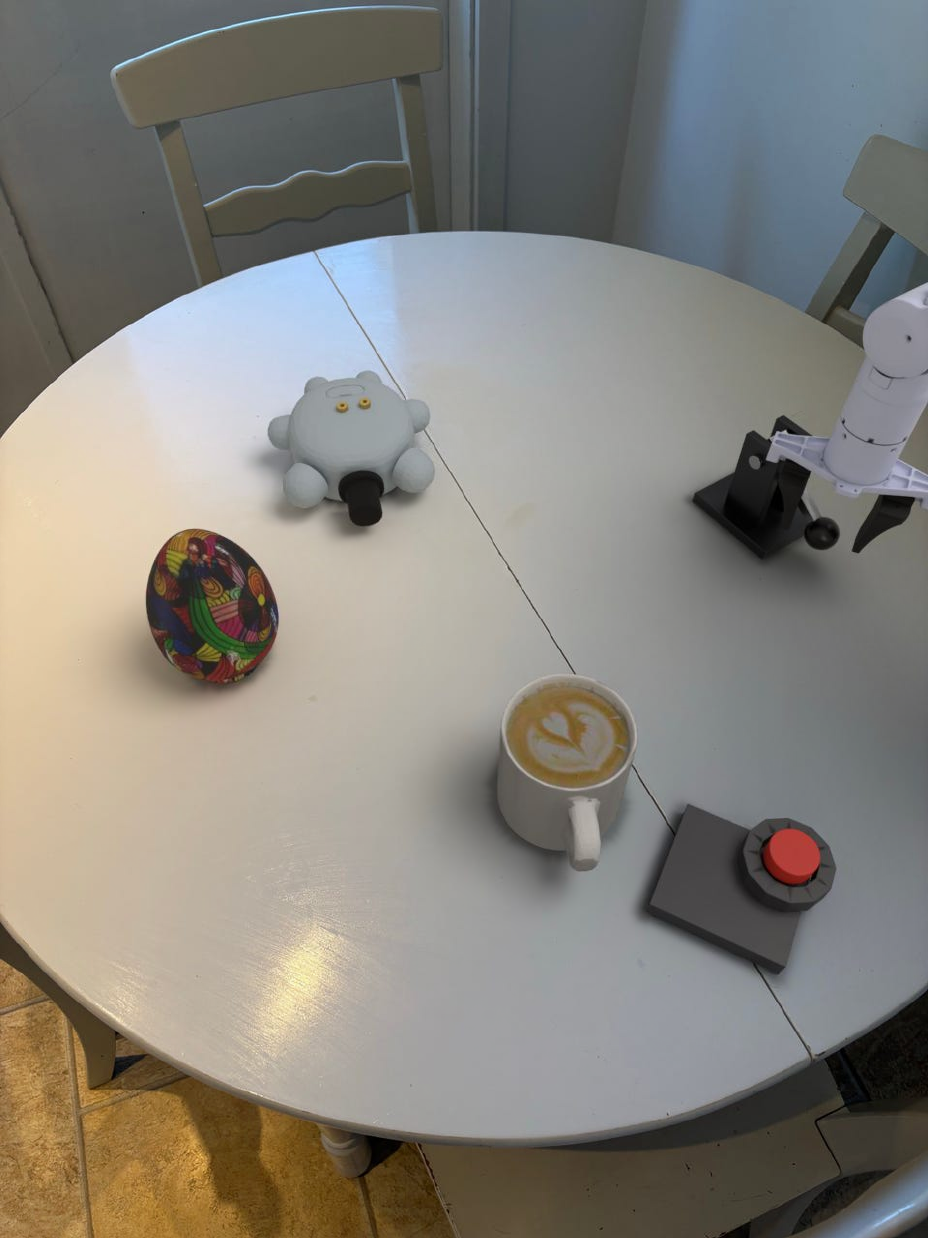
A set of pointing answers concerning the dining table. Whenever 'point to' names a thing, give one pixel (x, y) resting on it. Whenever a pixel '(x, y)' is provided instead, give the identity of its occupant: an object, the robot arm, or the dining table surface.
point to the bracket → (754, 496)
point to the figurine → (352, 445)
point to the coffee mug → (565, 763)
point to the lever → (816, 522)
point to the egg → (210, 607)
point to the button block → (736, 887)
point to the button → (791, 856)
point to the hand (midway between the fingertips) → (821, 534)
